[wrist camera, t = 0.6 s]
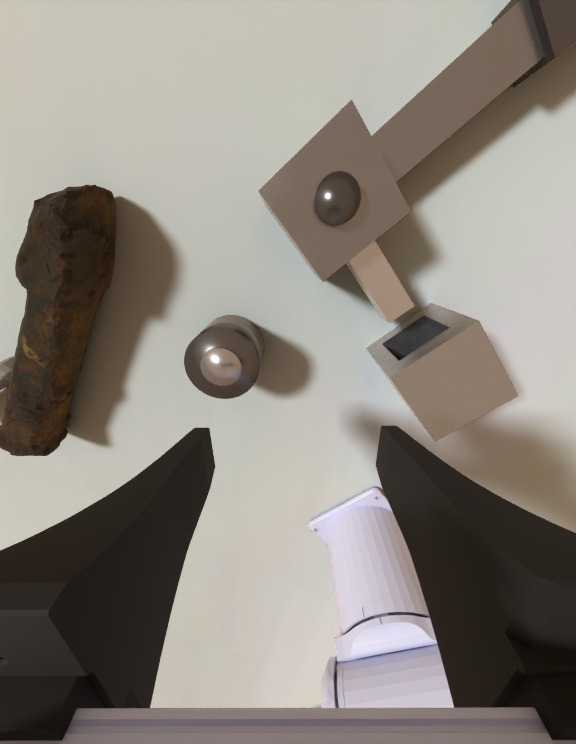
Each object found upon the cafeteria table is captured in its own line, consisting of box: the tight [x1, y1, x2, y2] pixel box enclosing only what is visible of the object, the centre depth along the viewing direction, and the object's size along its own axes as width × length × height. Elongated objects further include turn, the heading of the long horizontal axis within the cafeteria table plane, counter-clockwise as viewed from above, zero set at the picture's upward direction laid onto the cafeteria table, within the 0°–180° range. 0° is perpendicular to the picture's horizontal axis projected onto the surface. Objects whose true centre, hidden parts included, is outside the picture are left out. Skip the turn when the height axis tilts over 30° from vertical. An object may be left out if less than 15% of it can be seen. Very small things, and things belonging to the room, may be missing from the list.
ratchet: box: [259, 0, 576, 323], centre depth 13 cm, size 9×22×5 cm, turn 129°
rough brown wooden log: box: [0, 185, 115, 456], centre depth 18 cm, size 19×4×5 cm, turn 147°
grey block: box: [366, 303, 518, 441], centre depth 18 cm, size 6×5×5 cm
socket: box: [184, 315, 264, 399], centre depth 18 cm, size 4×4×4 cm
